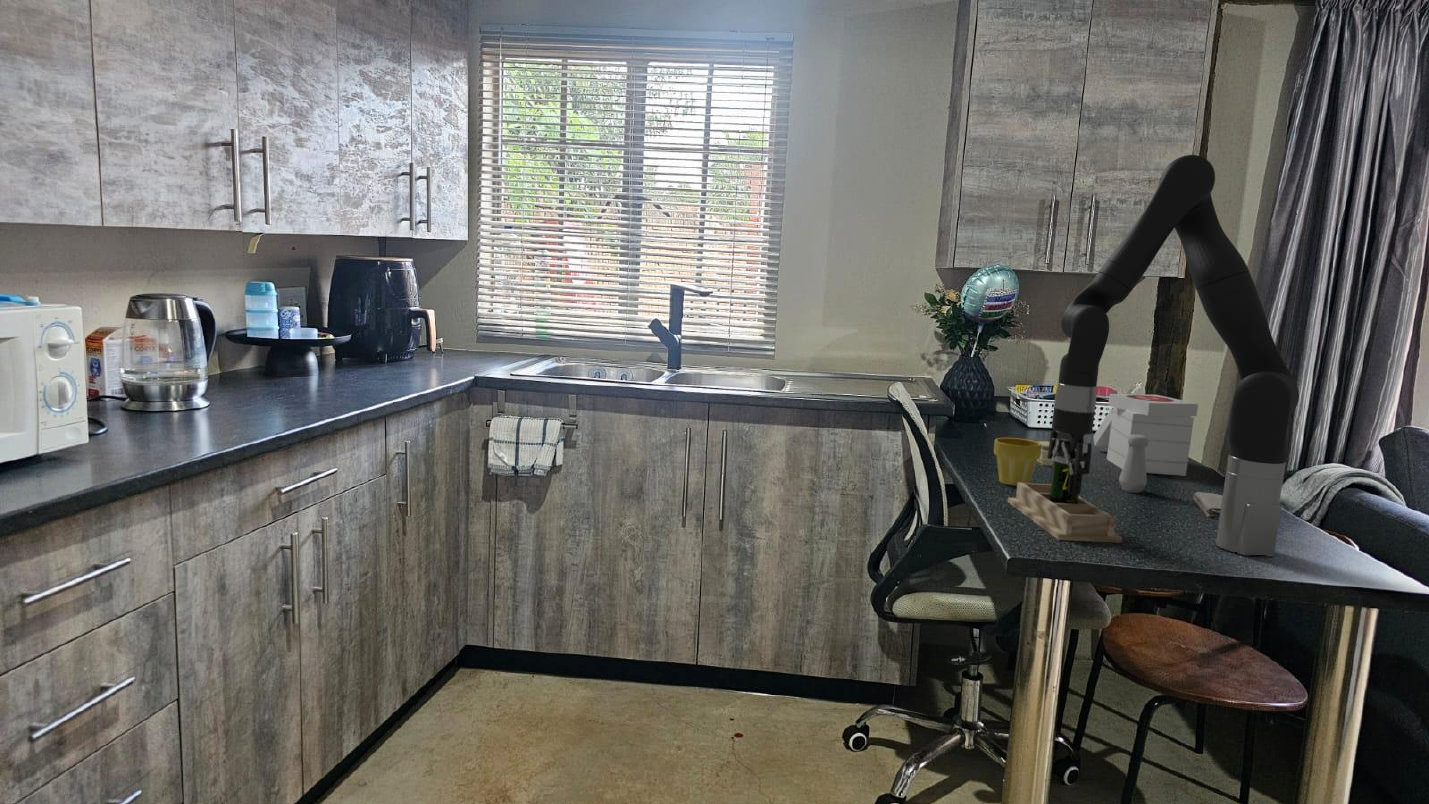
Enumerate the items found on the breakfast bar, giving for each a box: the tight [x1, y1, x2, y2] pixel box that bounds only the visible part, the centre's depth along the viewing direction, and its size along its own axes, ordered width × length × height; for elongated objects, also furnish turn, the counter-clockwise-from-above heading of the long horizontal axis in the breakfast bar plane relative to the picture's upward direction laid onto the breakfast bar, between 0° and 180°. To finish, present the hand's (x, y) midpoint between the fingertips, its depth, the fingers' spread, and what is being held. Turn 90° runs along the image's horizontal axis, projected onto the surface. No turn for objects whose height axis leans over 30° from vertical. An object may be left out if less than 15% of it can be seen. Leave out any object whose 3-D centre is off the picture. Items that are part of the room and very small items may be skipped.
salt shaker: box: [1118, 434, 1148, 494], centre depth 224 cm, size 6×6×13 cm
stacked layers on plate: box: [1036, 440, 1053, 467], centre depth 250 cm, size 10×9×6 cm
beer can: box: [1049, 454, 1080, 504], centre depth 192 cm, size 5×5×12 cm
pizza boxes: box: [1093, 393, 1199, 477], centre depth 258 cm, size 19×30×18 cm, turn 176°
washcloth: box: [1192, 491, 1223, 520], centre depth 210 cm, size 12×18×3 cm, turn 164°
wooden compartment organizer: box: [1007, 482, 1123, 544], centre depth 193 cm, size 27×12×4 cm, turn 3°
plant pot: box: [993, 437, 1042, 487], centre depth 224 cm, size 10×10×10 cm
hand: (1064, 488), depth 192 cm, fingers open, 8 cm apart
